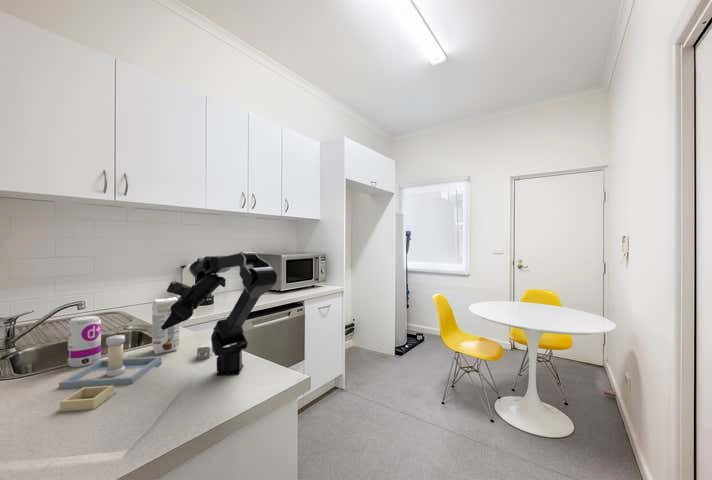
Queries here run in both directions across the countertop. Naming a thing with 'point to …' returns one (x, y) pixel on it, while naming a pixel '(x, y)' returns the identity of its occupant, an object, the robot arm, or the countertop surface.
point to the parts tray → (129, 363)
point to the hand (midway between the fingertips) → (165, 325)
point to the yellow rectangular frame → (86, 399)
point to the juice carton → (161, 338)
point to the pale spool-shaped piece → (115, 355)
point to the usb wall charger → (204, 350)
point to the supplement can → (84, 341)
